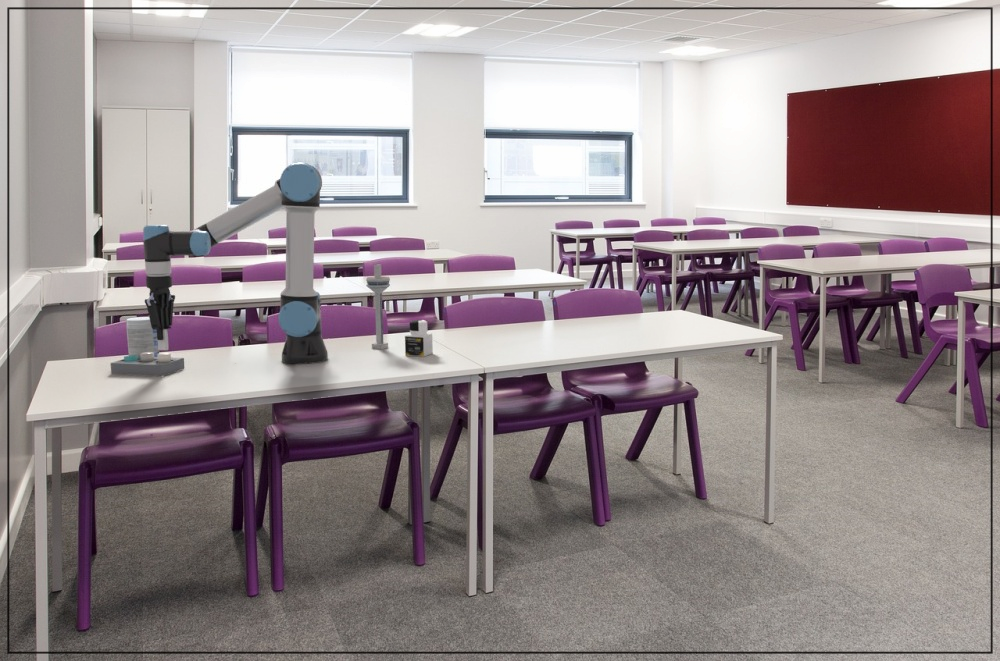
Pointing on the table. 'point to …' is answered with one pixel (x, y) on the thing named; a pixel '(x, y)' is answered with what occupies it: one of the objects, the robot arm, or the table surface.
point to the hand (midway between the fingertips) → (163, 349)
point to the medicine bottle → (418, 340)
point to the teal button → (131, 358)
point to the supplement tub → (141, 336)
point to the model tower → (378, 303)
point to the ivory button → (164, 357)
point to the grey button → (147, 357)
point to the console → (147, 367)
